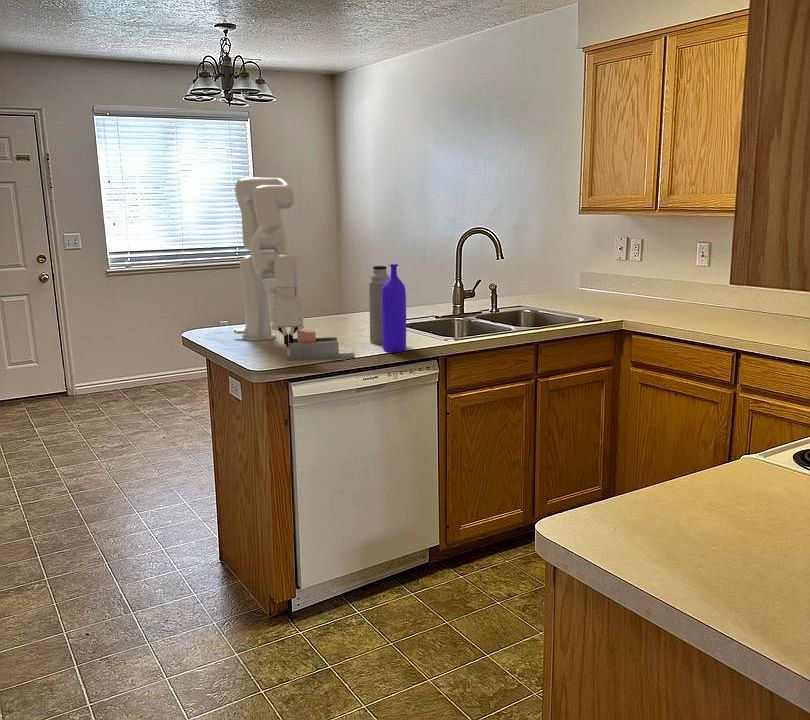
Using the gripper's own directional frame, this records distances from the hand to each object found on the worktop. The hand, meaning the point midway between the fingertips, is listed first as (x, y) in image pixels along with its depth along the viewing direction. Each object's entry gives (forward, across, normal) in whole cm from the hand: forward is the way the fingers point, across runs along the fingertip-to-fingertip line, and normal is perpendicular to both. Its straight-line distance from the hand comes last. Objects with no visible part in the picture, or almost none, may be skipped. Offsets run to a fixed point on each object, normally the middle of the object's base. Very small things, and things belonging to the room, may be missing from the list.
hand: (288, 346), depth 249 cm
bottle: (+4, +36, +5) cm, 37 cm away
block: (+2, +6, 0) cm, 6 cm away
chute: (+4, +10, 0) cm, 11 cm away
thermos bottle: (+4, +33, +21) cm, 40 cm away
